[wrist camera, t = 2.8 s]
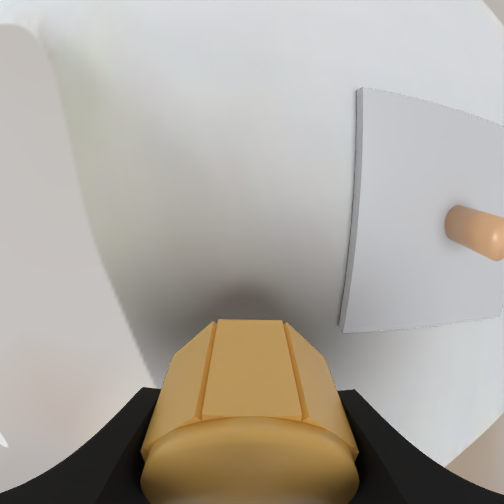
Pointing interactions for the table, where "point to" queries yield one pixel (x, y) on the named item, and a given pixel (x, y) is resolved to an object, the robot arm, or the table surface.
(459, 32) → the table surface
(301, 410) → the wire nut
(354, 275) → the plate
